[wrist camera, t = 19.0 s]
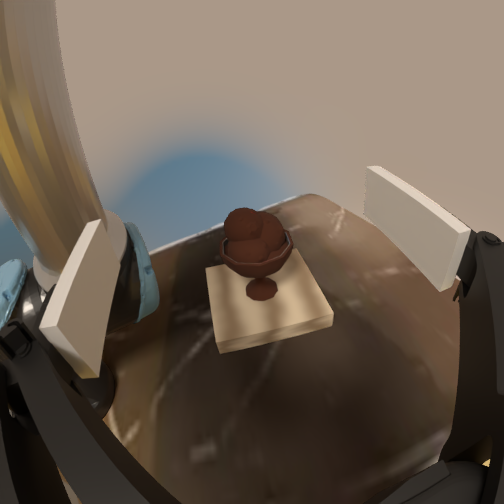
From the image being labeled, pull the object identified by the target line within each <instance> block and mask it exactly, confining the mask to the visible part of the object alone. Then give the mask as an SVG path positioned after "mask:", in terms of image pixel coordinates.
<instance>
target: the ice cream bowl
mask: <svg viewBox="0 0 504 504" xmlns="http://www.w3.org/2000/svg"><path fill="white" fill-rule="evenodd" d="M224 230H225V235H226V237H225V238H223V239H222V240H221V241H220V256H221V258H222V260H223V262H224V263H225V264H226V265H227V267H228V268H230V269H231V270H233V271H234V272H236V273H237V274H239V275H240V276H243V277H246V278H255V279H253V280H251V281H250V282H249V283H248V284H247V286H246V296H248V297H249V298H251V299H252V300H253V301H266V300H268V299H271V298H273V297H274V296H275V294H276V293H277V292H278V288H277V284H276V282H275V281H274V280H272V279H270V278H268V277H266V276H269V275H271V274H274V273H276V272H278V271H279V270H280V269H281V268H282V267H283V265H284V264H285V262H286V261H287V260H288V258H289V256H290V254H291V253H292V249H293V241H292V239H291V236H290V234H289V231H287V230H284V229H283V227H282V225H281V223H280V221H279V220H278V219H277V217H275V216H273V215H272V214H269V213H267V212H261V211H255V210H253V209H249V208H239V209H235V210H234V211H232V212H230V214H229V215H228V217H227V218H226V220H225V222H224Z"/></svg>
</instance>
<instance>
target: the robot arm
mask: <svg viewBox="0 0 504 504" xmlns="http://www.w3.org/2000/svg"><path fill="white" fill-rule="evenodd" d="M0 201H1V202H2V204H3V206H4V208H5V209H6V211H7V213H8V215H9V216H10V218H11V220H12V221H13V223H14V225H15V226H16V228H17V229H18V231H19V233H20V234H21V236H22V237H23V239H24V240H25V242H26V243H27V245H28V246H29V248H30V249H31V251H32V252H33V253H34V261H33V268H30V269H27V266H26V264H25V263H23V262H22V261H21V260H20V259H15V260H10V261H8V262H7V263H5V264H4V265H2V266H1V267H0V504H71V502H70V499H69V497H68V494H67V492H66V490H65V487H64V485H63V482H62V479H61V477H60V474H59V471H58V468H57V466H58V467H59V469H60V471H61V472H62V474H63V476H64V477H65V479H66V480H67V482H68V483H69V485H70V486H71V488H72V489H73V491H74V492H75V494H76V495H77V497H78V498H79V499H80V501H81V502H82V504H181V503H180V502H179V501H178V500H177V499H176V498H175V497H173V496H172V495H171V494H170V493H169V492H168V491H167V490H166V489H165V488H164V487H162V486H161V485H160V484H159V483H158V482H157V481H156V480H155V479H154V478H153V477H152V476H151V475H150V474H149V473H148V472H147V471H146V470H145V469H144V468H143V467H142V466H141V465H140V464H139V463H138V461H137V460H136V459H135V458H134V457H133V456H132V455H131V454H130V453H129V452H128V450H127V449H126V448H125V447H124V446H123V445H122V444H121V442H120V441H119V440H118V439H117V438H116V436H115V435H114V434H113V433H112V432H111V430H110V429H109V428H108V427H107V425H106V424H105V423H104V421H103V420H102V418H103V417H104V416H105V414H106V413H107V411H108V410H109V408H110V406H111V403H112V400H113V397H114V390H115V384H114V378H113V375H112V372H111V370H110V369H109V367H108V366H107V365H106V364H105V362H104V361H103V360H102V359H101V358H102V352H103V346H104V340H105V336H106V335H108V334H110V333H113V332H115V331H117V330H119V329H121V328H123V327H126V326H128V325H130V324H132V323H133V324H135V323H138V322H139V321H140V320H141V319H142V318H144V317H146V316H147V315H149V314H151V313H153V312H154V311H155V310H156V309H157V307H158V305H159V301H160V296H159V289H158V284H157V280H156V277H155V273H154V271H153V269H152V265H151V260H150V257H149V254H148V251H147V248H146V246H145V243H144V241H143V238H142V236H141V234H140V232H139V230H138V228H137V227H136V225H135V224H133V223H123V222H122V221H121V219H120V218H119V217H118V216H117V215H116V214H114V213H113V212H111V211H109V210H105V209H103V207H102V205H101V202H100V200H99V196H98V194H97V191H96V188H95V185H94V182H93V179H92V177H91V174H90V170H89V167H88V164H87V161H86V158H85V154H84V151H83V148H82V145H81V141H80V138H79V134H78V130H77V127H76V123H75V119H74V115H73V111H72V107H71V103H70V99H69V94H68V89H67V85H66V79H65V74H64V69H63V63H62V57H61V50H60V43H59V36H58V28H57V19H56V7H55V0H0ZM363 214H364V215H365V216H366V217H367V218H368V219H369V220H370V221H371V222H372V223H373V224H374V225H376V226H377V227H378V228H379V229H380V230H381V231H382V232H383V233H384V234H385V235H386V236H387V237H388V238H389V239H390V240H391V241H392V242H393V243H394V244H395V245H396V246H397V247H398V248H399V249H400V250H401V251H402V252H403V253H404V254H405V255H406V256H407V257H408V258H409V259H410V260H411V261H412V262H413V263H414V264H415V265H416V267H417V268H418V269H419V270H420V271H421V272H422V273H423V274H424V275H425V276H426V277H427V278H428V279H429V281H430V282H431V283H432V284H433V285H434V286H435V287H436V288H437V289H438V291H439V292H441V291H443V290H445V289H447V288H450V287H452V285H453V282H454V279H455V277H456V275H457V276H458V277H459V278H460V279H461V280H460V283H459V285H458V288H457V290H456V293H455V295H454V297H453V301H455V300H456V298H457V297H458V296H459V300H458V302H459V307H460V357H459V374H458V386H457V396H456V404H455V411H454V418H453V424H452V430H451V433H450V436H449V438H448V440H447V441H446V443H445V445H444V446H443V449H442V451H441V453H440V457H439V460H438V462H437V463H435V464H434V465H432V466H430V467H428V468H426V469H424V470H423V471H421V472H419V473H417V474H415V475H413V476H411V477H409V478H407V479H405V480H403V481H401V482H399V483H397V484H395V485H393V486H391V487H389V488H387V489H385V490H383V491H381V492H379V493H377V494H376V495H375V496H373V497H372V498H371V499H369V500H368V501H366V502H365V503H363V504H504V242H502V241H501V240H500V239H499V238H498V237H497V236H495V235H494V234H492V233H489V232H486V231H480V232H478V233H476V232H474V231H473V230H472V229H471V228H470V227H468V226H467V225H466V224H464V223H463V222H462V221H461V220H459V219H457V218H456V217H455V216H454V215H453V214H450V212H448V211H447V210H446V209H445V208H443V207H441V206H439V205H438V204H437V203H435V202H434V201H432V200H431V199H430V198H428V197H427V196H425V195H424V194H422V193H421V192H419V191H418V190H416V189H415V188H413V187H412V186H410V185H409V184H407V183H406V182H404V181H403V180H401V179H399V178H398V177H396V176H395V175H393V174H391V173H390V172H388V171H386V170H385V169H383V168H381V167H380V166H370V167H366V185H365V200H364V213H363ZM9 409H10V410H11V411H12V416H11V415H10V413H9ZM489 459H490V464H489V467H487V466H485V465H482V464H483V463H484V462H485V461H487V460H489ZM55 462H56V463H55ZM56 464H57V466H56Z"/></svg>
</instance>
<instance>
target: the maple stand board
mask: <svg viewBox="0 0 504 504" xmlns="http://www.w3.org/2000/svg"><path fill="white" fill-rule="evenodd" d="M206 276H207V284H208V291H209V299H210V306H211V313H212V320H213V326H214V333H215V339H216V344H217V347H218V350H219V352H220V354H222V353H227V352H232V351H236V350H241V349H245V348H250V347H254V346H258V345H263V344H267V343H271V342H275V341H279V340H283V339H286V338H290V337H294V336H298V335H301V334H305V333H309V332H312V331H316V330H319V329H323V328H326V327H329V326H332V323H333V315H334V313H333V311H332V309H331V307H330V306H329V304H328V302H327V300H326V298H325V297H324V295H323V293H322V291H321V290H320V288H319V286H318V284H317V283H316V281H315V279H314V277H313V276H312V274H311V272H310V271H309V269H308V267H307V265H306V264H305V262H304V260H303V259H302V257H301V255H300V254H299V252H298V250H297V248H296V249H292V253H291V254H290V256H289V258H288V260H287V261H286V262H285V264H284V265H283V267H282V268H281V269H280V270H279V271H278V272H276V273H274V274H271V275H269V276H266V277H268V278H270V279H272V280H274V281H275V282H276V284H277V288H278V292H277V293H276V294H275V296H274V297H273V298H271V299H268V300H266V301H253V300H252V299H251V298H249V297H248V296H246V286H247V284H248V283H249V282H250V281H251V280H253V279H255V278H246V277H243V276H240V275H239V274H237V273H236V272H234V271H233V270H231V269H230V268H228V267H227V265H226V264H223V265H218V266H214V267H209V268H206Z"/></svg>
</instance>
